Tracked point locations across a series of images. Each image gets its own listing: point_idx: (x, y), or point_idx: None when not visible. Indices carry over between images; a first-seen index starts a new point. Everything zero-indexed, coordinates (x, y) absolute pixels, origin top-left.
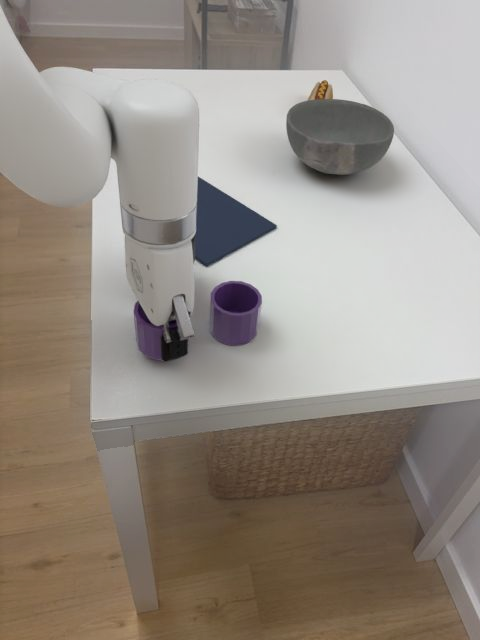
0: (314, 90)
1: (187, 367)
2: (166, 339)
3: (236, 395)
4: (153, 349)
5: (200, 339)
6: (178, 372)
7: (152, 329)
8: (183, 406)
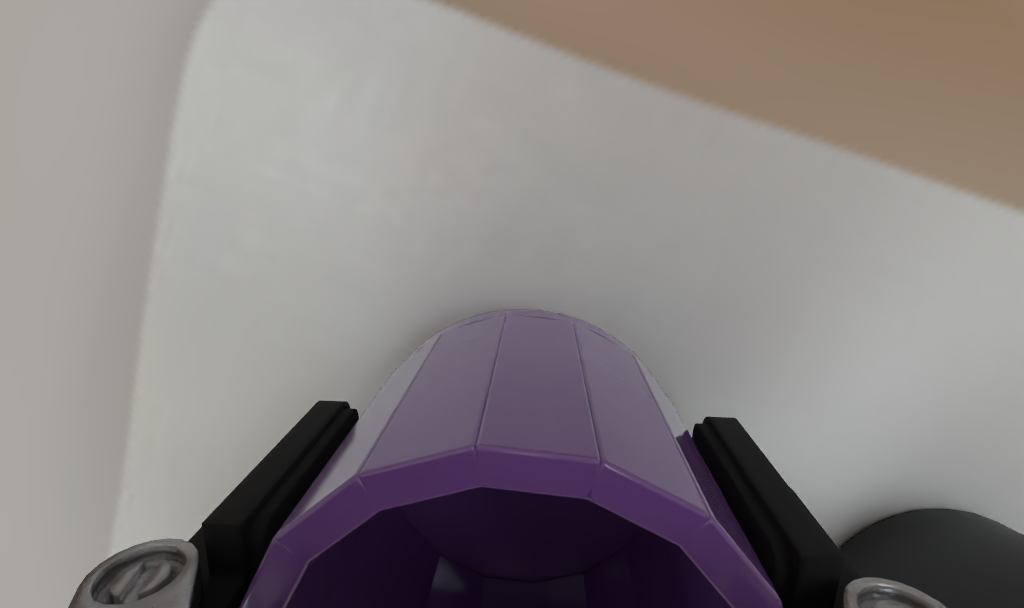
0: None
1: None
2: (129, 570)
3: None
4: (380, 391)
5: None
6: None
7: (293, 516)
8: (145, 359)
